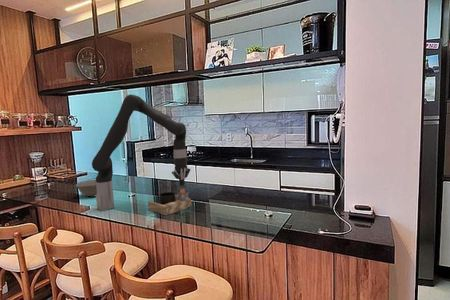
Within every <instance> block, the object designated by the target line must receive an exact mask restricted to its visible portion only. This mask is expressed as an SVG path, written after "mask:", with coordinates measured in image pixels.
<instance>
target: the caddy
mask: <svg viewBox="0 0 450 300" xmlns="http://www.w3.org/2000/svg"><path fill="white" fill-rule="evenodd" d="M175 198H176V201H174V202H171V203H167V204H164V205H162V204H160V202H155V201H151V200H150V201H148V202H147V203H148V205H147V206H148V208H147V209H148V211H150V210H151V212H153V213H158V214H161V215H164V216H167V215H170V214H174V213H176V212H179V211H182V210H186V209H188V207H189V208H191V207H192V199H191V198H190V197H189V193H188V192H185V194H180V192H179V193H177V194H175Z"/></svg>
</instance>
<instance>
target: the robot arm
mask: <svg viewBox="0 0 450 300" xmlns="http://www.w3.org/2000/svg"><path fill="white" fill-rule="evenodd" d="M134 112H138V113H141V114H144V115H145V116H146V117H148V118H149V119H151V120H152V121H153V122H154V123H156V124H158V125H159V126H160V127H162V128H165V130H167V132H169V133H170V134H172V135H175V136H174V139H173V163H174V170H173V171H171V174H172V175H173V177H174V178H175V179H176V180H178V182H179V186H180V187H181V186H182V187H184V186H185V184H186V183H185V179H187V178H188V176H189V174H190V172H191V168H188V165H187V164H188V159H187V157H188V154H187V149H186V148H187V147H186V139H187V127H186V125H185V124H184V123H182V122H177V121H175V120H173V119H172V118H171V117H170V116H169V115H167V114H166V113H164V112H162V111H160V110H158V109H156V107H155V108H154V107H153V106H151V105H150V104H148V103H147V102H146V101H145V100H144V99H143V98H142V97H140V96H139V95H136V94H132V93H131V94H128V95H126V96H125V97H124V99H123V101H122V103H121V106H120V108H119V111H118V114H117V115H116V117H115V120H114V121H113V123H112V124H111V127H110V129H109V130H108V133H107V134H106V137H105V139H104V141H103V142H102V145H101V146H100V149H99V150H98V151H97V153H96V155H95V156H94V158H93V159H92V160H91V161H92V162H91V167H92V169H93V170H94V171H96V172H97V175H96V177H95V180H96V187H97V194H96V196H95V198H96V199H95V200H96V209H97V210H98V209H99V211H101V210H103V211H108V209H109V210H111V208H112V209H114V208H115V198H114V187H113V173H114V170H113V161H112V158H111V157H112V154H113V152H114V151H115V150H116V149H117V148H118V147H119V146H120V144H121V143H122V142H123V140H125V139H124V138H125V137H126V135H127V133H128V128H129V120H130V118H131V116H132V114H133V113H134ZM113 207H114V208H113Z"/></svg>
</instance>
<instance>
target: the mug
mask: <svg viewBox="0 0 450 300" xmlns="http://www.w3.org/2000/svg"><path fill="white" fill-rule="evenodd" d="M175 195H176V193H175V192H172V191H167V192H166V191H165V192H161V193H160V194H159V195H158V197H159V204H162V205H164V204H167V203H171V202H174V201H176V198H175Z"/></svg>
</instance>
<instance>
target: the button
mask: <svg viewBox="0 0 450 300" xmlns="http://www.w3.org/2000/svg"><path fill="white" fill-rule="evenodd" d="M179 191H180V192H179V193H180V194H185V193H186V188H180V189H179Z"/></svg>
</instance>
